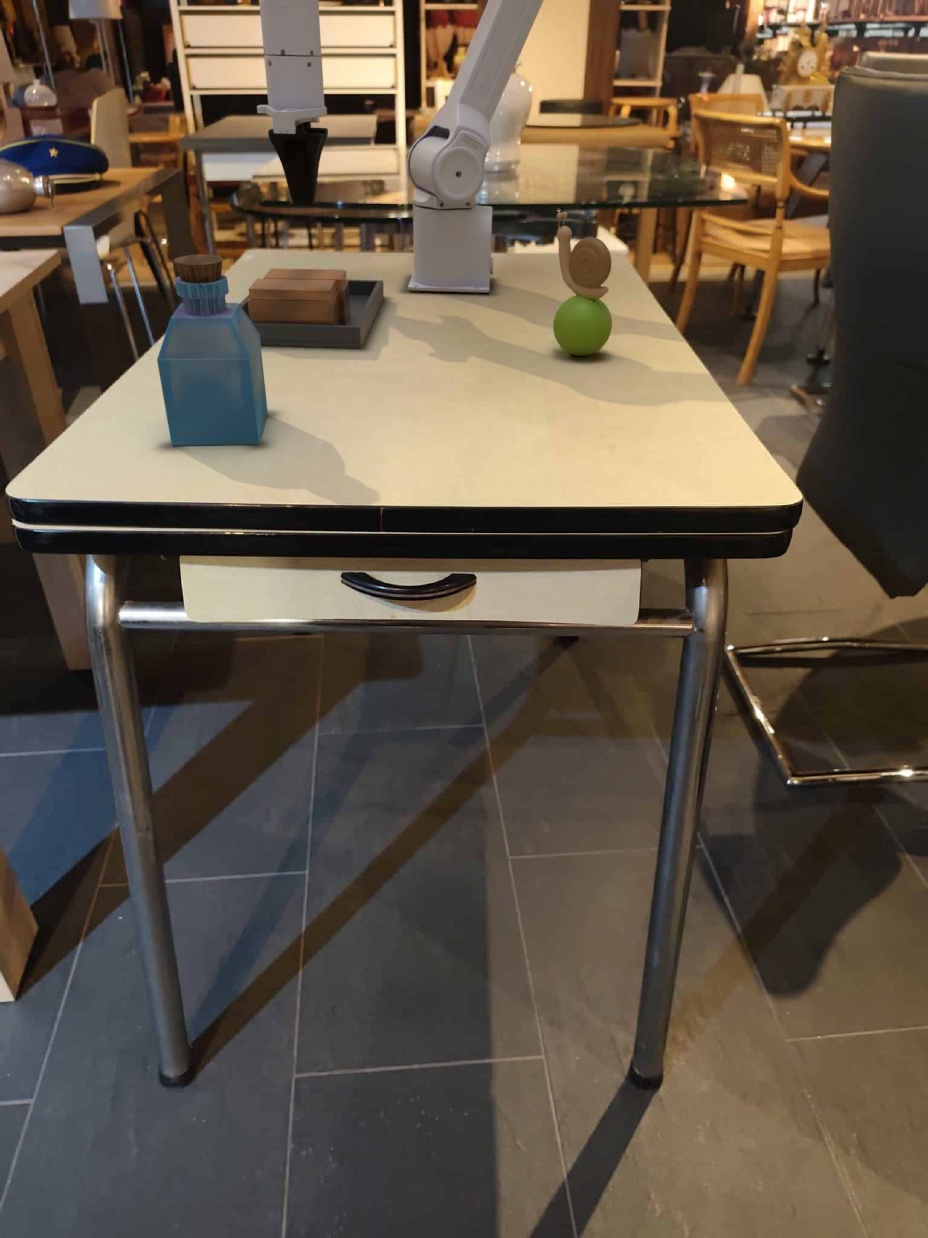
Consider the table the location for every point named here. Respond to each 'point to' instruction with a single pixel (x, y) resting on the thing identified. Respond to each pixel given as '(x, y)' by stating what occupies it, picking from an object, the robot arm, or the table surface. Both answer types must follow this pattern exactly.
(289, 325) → the tray
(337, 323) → the brown wooden block
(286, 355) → the table surface
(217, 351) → the perfume bottle
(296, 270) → the brown lidded wooden box
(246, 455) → the table surface
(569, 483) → the table surface
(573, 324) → the snail figurine
